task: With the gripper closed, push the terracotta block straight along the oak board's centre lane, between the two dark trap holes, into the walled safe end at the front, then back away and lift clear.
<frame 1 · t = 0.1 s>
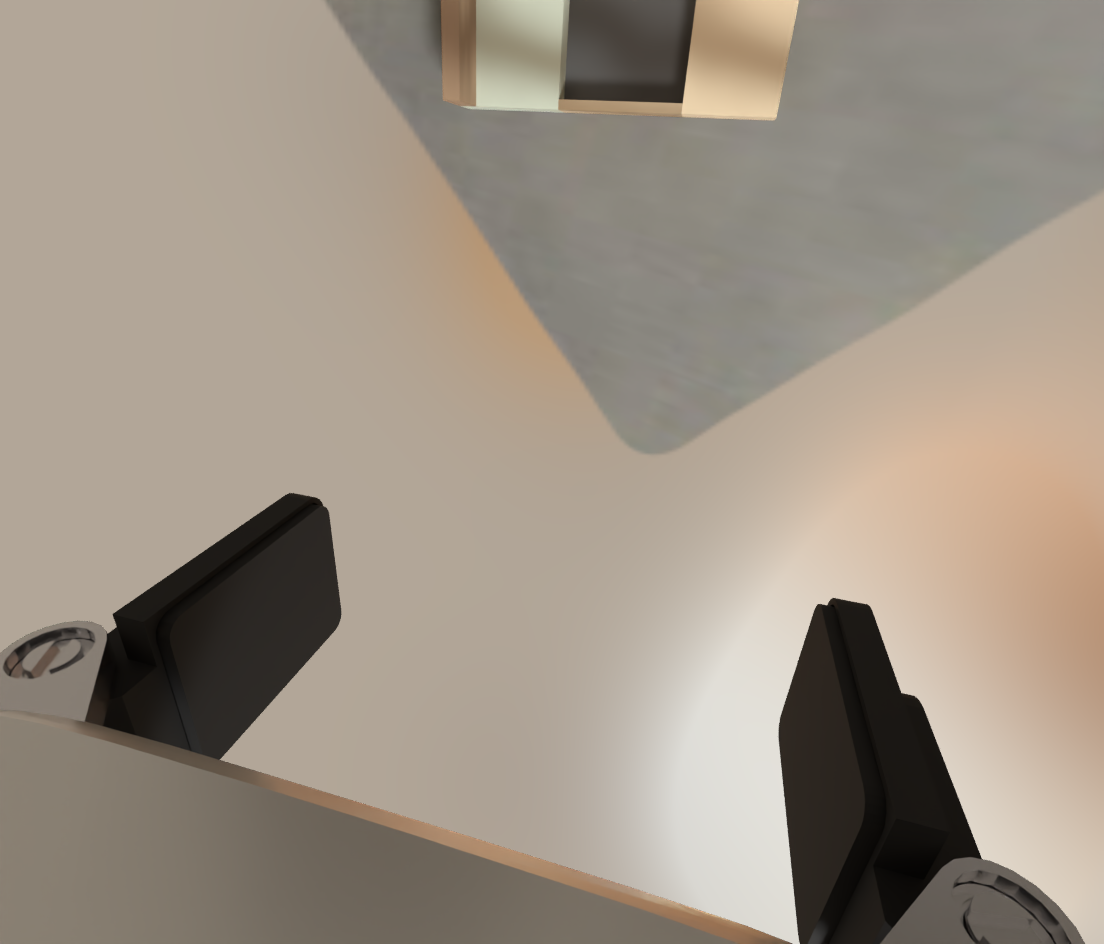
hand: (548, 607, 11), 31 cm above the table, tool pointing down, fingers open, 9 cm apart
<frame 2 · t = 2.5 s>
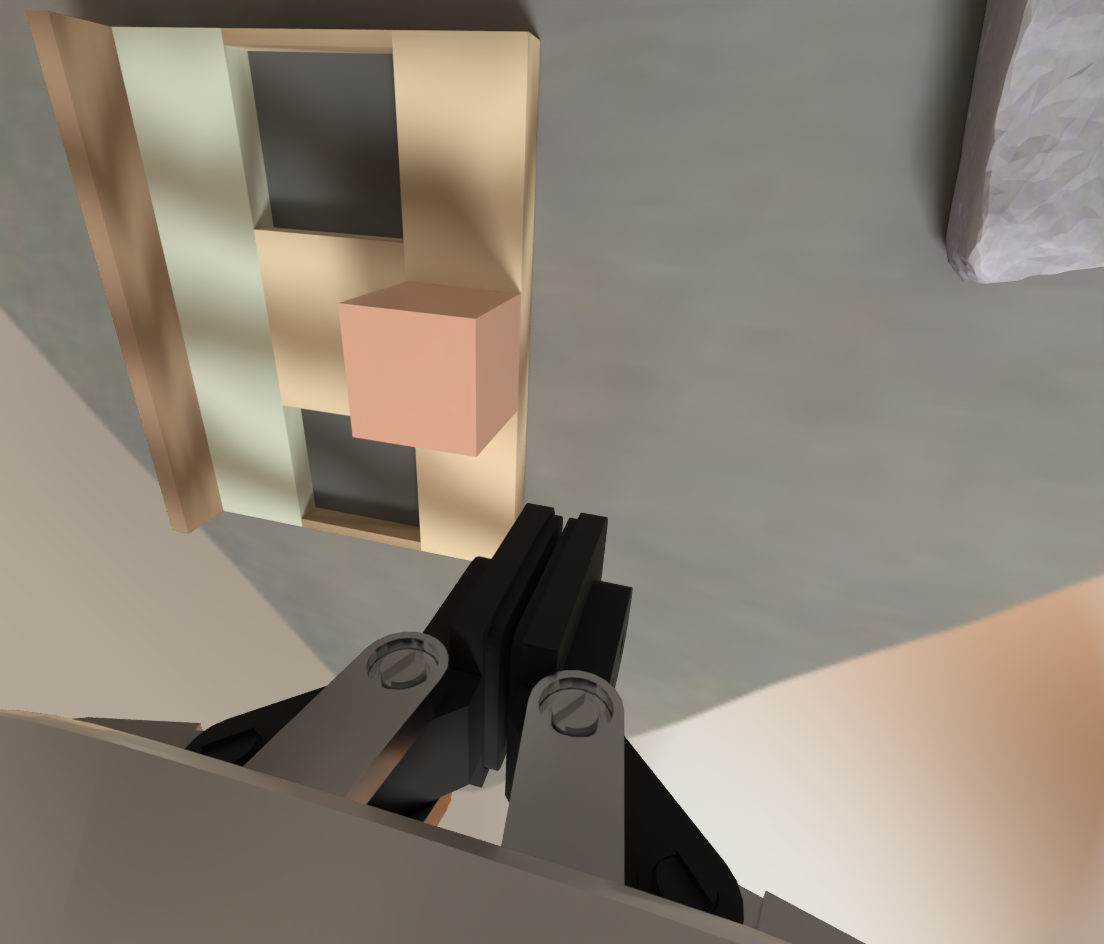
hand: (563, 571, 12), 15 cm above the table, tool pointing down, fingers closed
terracotta block: (463, 347, 25), point 1 cm above the table, touching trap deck
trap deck: (345, 323, 28), on the table
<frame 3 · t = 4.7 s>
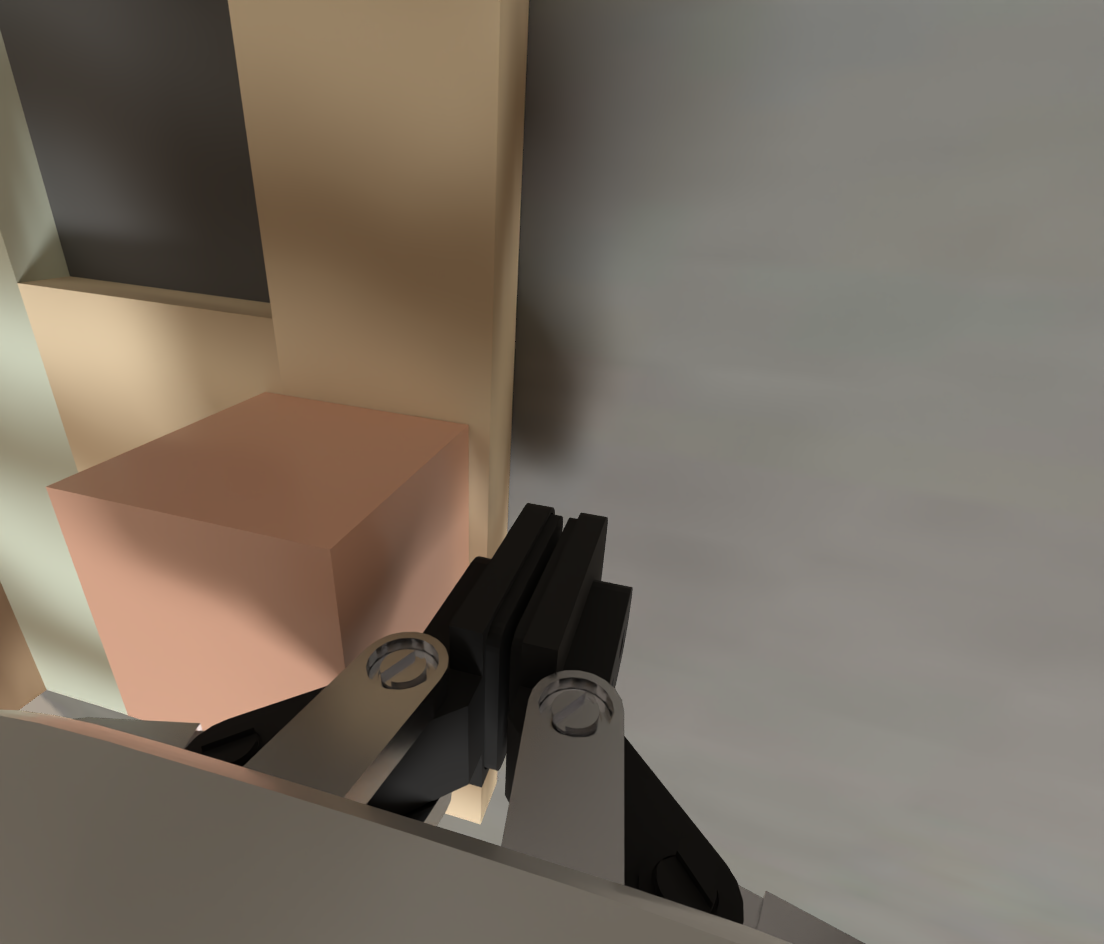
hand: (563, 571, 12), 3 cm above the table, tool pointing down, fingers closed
terracotta block: (371, 506, 14), point 2 cm above the table, touching gripper
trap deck: (204, 434, 17), on the table
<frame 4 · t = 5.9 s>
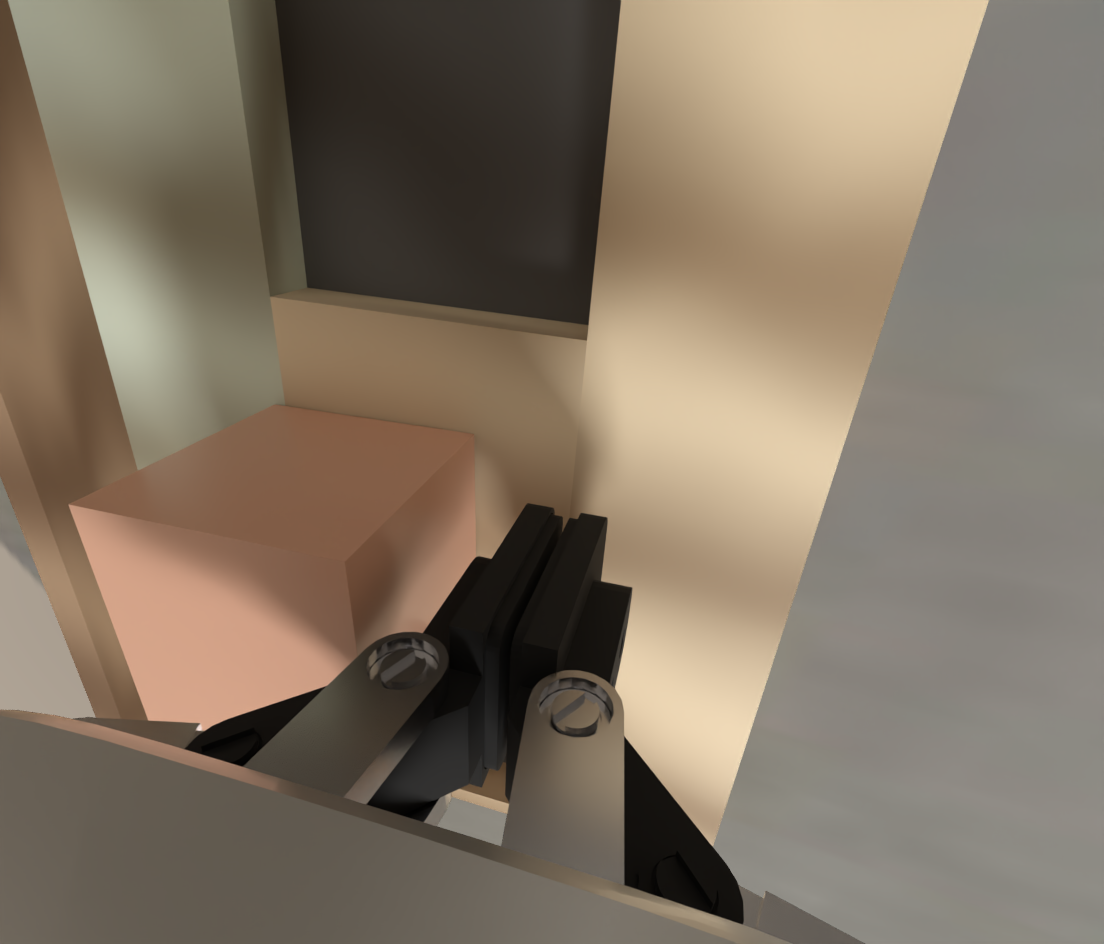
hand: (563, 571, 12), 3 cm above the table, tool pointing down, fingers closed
terracotta block: (379, 513, 14), point 2 cm above the table, touching gripper
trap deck: (432, 459, 15), on the table
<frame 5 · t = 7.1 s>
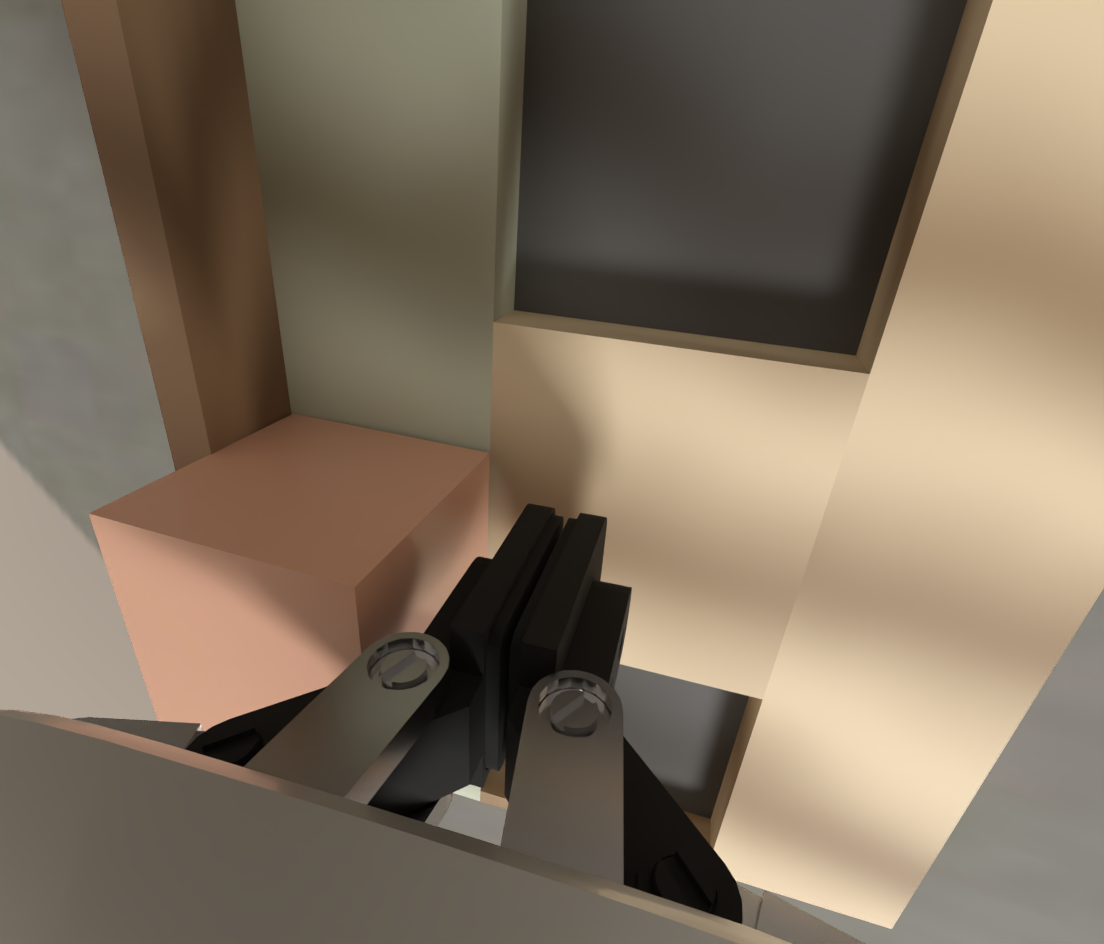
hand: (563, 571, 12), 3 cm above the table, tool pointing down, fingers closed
terracotta block: (393, 525, 15), point 2 cm above the table, touching gripper, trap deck
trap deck: (627, 491, 14), on the table
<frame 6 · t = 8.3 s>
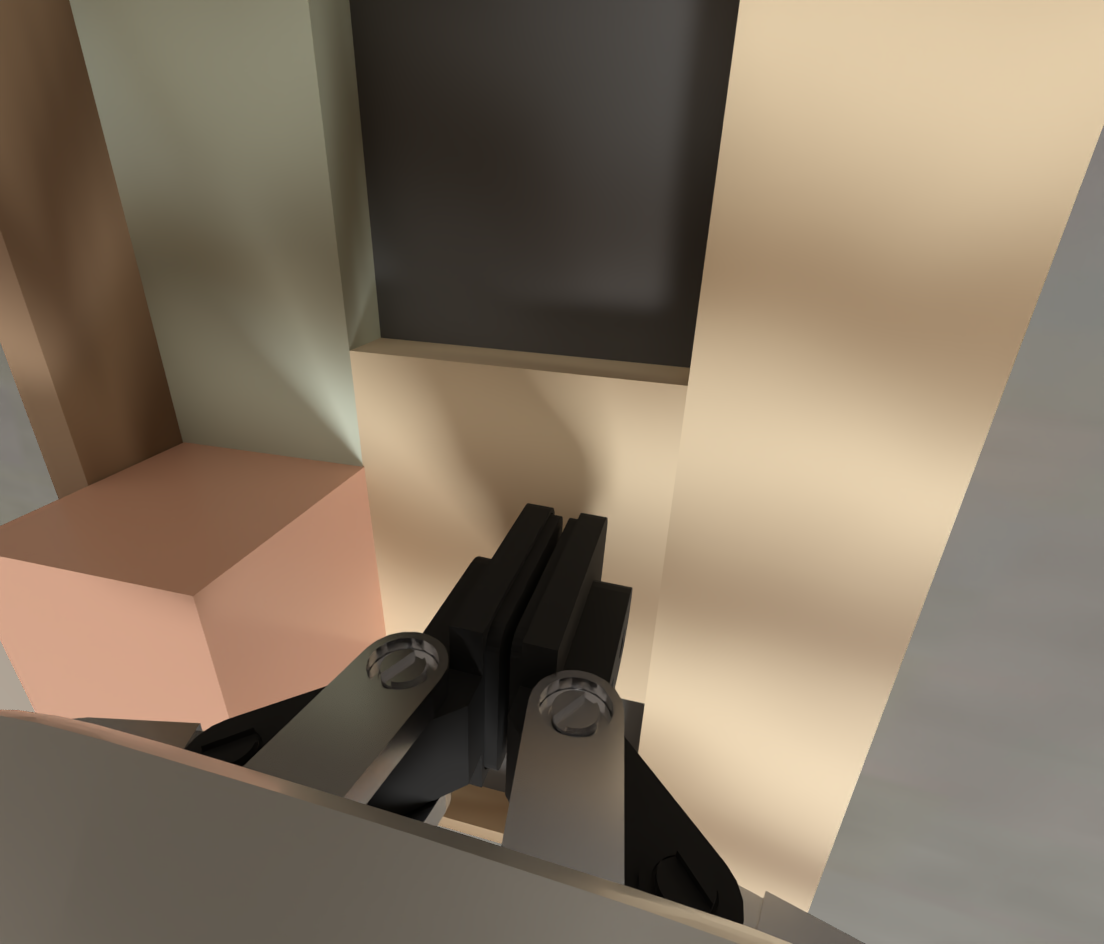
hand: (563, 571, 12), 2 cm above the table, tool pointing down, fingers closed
terracotta block: (288, 543, 15), point 1 cm above the table, touching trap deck
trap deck: (507, 506, 15), on the table
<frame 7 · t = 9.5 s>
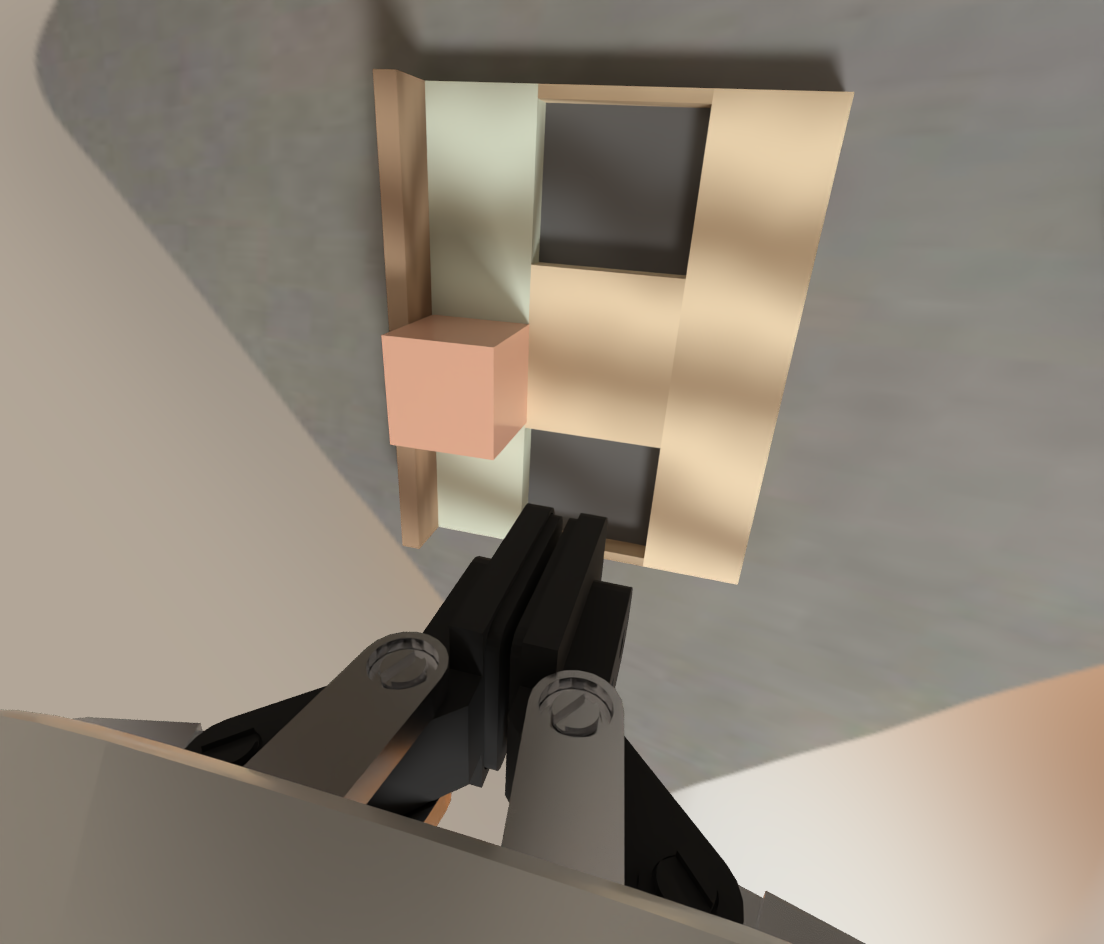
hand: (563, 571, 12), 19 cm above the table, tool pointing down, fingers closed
terracotta block: (480, 369, 30), point 1 cm above the table, touching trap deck
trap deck: (593, 351, 29), on the table
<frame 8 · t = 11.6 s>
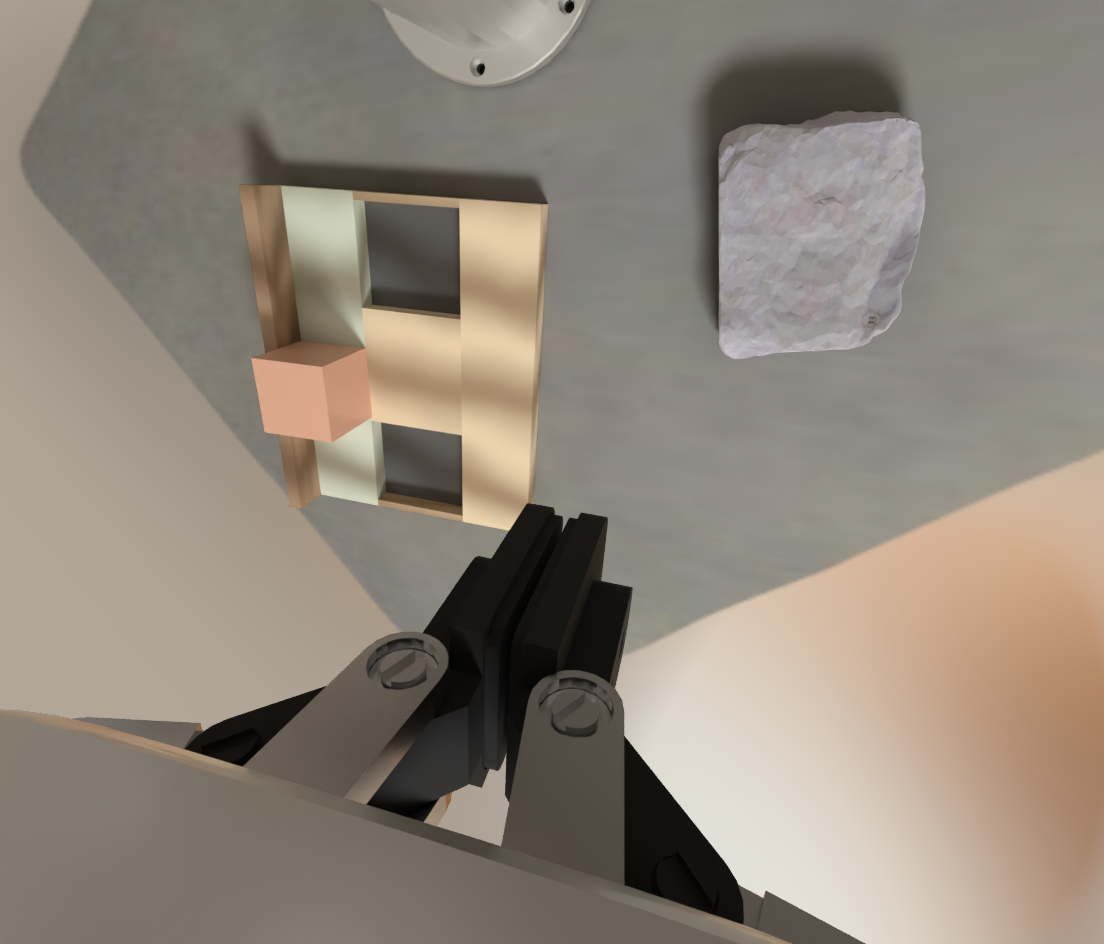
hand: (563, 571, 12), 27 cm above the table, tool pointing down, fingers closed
terracotta block: (337, 379, 42), point 1 cm above the table, touching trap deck
stone block: (809, 238, 33), on the table
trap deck: (416, 366, 42), on the table
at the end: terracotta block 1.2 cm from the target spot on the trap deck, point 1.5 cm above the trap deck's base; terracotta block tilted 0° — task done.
